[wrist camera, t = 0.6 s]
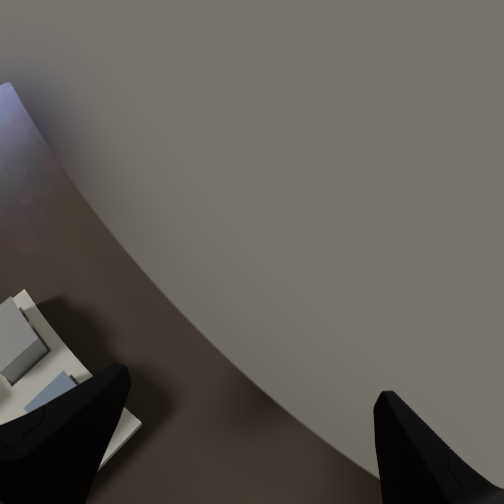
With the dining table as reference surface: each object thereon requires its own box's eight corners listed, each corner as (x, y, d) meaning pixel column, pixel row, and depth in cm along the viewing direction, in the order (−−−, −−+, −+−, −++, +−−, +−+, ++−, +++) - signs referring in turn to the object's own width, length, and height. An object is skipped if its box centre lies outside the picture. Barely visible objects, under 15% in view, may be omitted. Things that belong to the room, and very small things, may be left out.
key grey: (13, 383, 15) (-1, 373, 13) (-12, 341, 15) (-26, 327, 13) (48, 351, 18) (38, 337, 16) (21, 312, 18) (10, 296, 16)
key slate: (76, 458, 14) (67, 459, 12) (36, 414, 14) (23, 408, 12) (112, 422, 17) (108, 418, 15) (72, 380, 17) (63, 370, 15)
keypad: (41, 526, 9) (30, 534, 7) (-59, 390, 11) (-75, 381, 9) (141, 425, 19) (141, 422, 17) (33, 305, 22) (24, 289, 19)
